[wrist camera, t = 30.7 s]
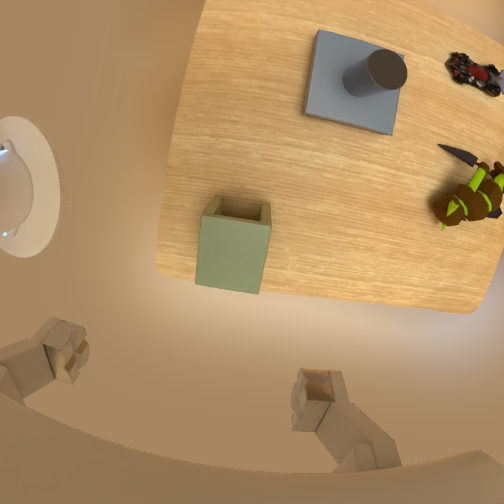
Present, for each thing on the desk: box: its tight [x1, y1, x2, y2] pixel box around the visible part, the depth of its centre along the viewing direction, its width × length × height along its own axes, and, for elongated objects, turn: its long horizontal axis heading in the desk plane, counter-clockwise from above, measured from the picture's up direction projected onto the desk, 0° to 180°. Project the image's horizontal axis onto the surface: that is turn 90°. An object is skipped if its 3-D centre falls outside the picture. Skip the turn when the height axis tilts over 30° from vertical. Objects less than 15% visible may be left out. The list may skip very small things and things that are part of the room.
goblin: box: [433, 144, 504, 231], centre depth 39 cm, size 10×14×15 cm
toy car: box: [446, 52, 504, 97], centre depth 31 cm, size 6×12×4 cm, turn 89°
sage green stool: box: [195, 196, 272, 294], centre depth 41 cm, size 8×9×10 cm
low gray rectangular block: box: [302, 29, 404, 136], centre depth 34 cm, size 12×12×4 cm
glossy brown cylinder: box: [343, 49, 407, 98], centre depth 28 cm, size 4×4×10 cm
